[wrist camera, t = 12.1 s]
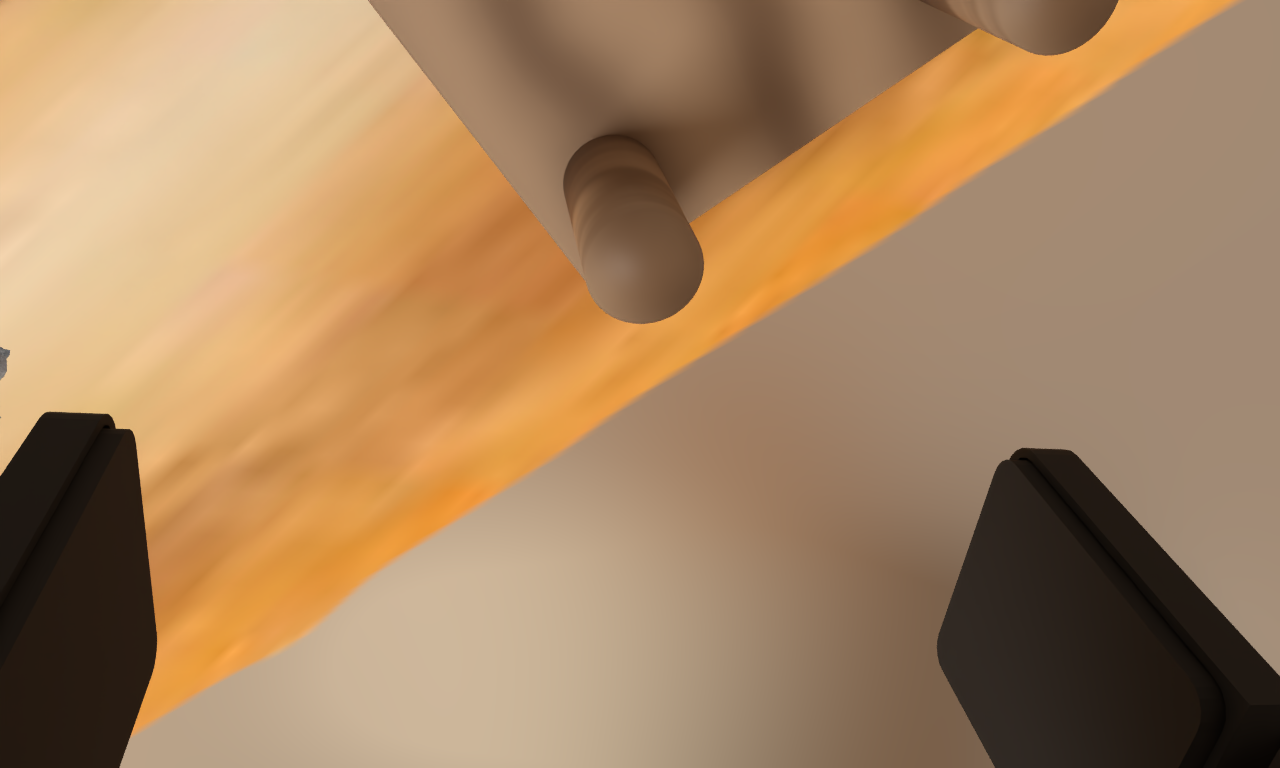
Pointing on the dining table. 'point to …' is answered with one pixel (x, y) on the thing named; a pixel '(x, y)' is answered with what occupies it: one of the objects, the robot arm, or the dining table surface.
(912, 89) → the dining table surface
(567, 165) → the stool
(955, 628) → the robot arm
